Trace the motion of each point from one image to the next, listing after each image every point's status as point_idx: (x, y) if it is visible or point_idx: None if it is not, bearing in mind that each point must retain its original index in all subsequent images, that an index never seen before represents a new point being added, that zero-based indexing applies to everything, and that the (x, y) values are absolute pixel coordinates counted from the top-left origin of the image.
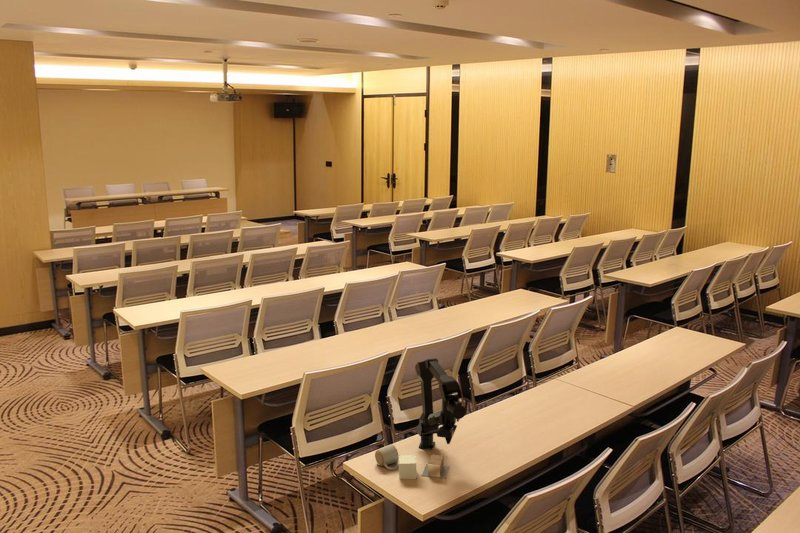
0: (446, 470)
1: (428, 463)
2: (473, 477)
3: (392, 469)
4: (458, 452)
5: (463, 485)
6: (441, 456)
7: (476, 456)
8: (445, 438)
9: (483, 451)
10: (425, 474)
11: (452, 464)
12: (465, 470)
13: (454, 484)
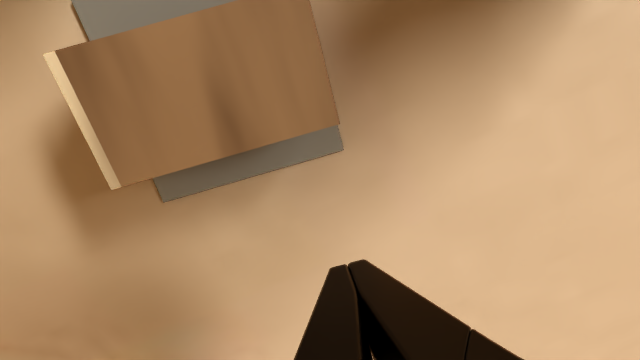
0: (275, 156)
1: (73, 47)
2: (287, 336)
3: None
4: (579, 112)
5: (159, 331)
6: (312, 112)
7: (552, 243)
8: (297, 353)
9: (627, 252)
10: (113, 24)
11: (389, 151)
12: (347, 263)
13: (133, 283)
